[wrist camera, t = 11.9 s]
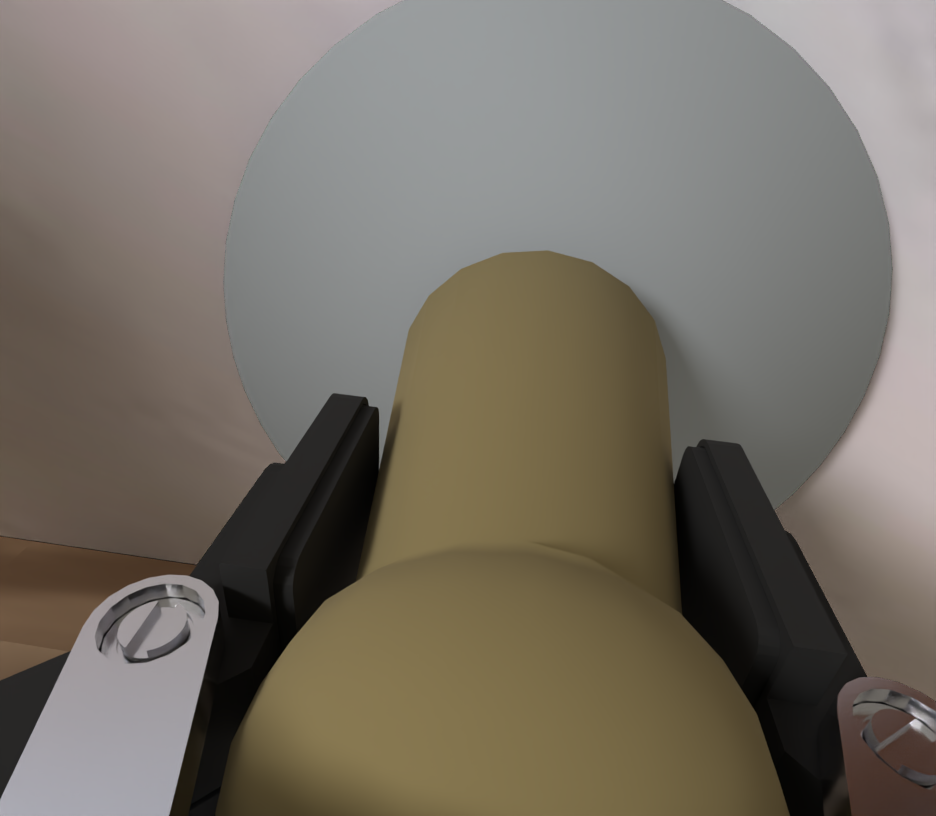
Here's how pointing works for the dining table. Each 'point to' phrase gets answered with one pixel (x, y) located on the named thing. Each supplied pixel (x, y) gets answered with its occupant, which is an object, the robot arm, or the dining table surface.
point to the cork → (512, 588)
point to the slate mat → (570, 210)
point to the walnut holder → (59, 595)
